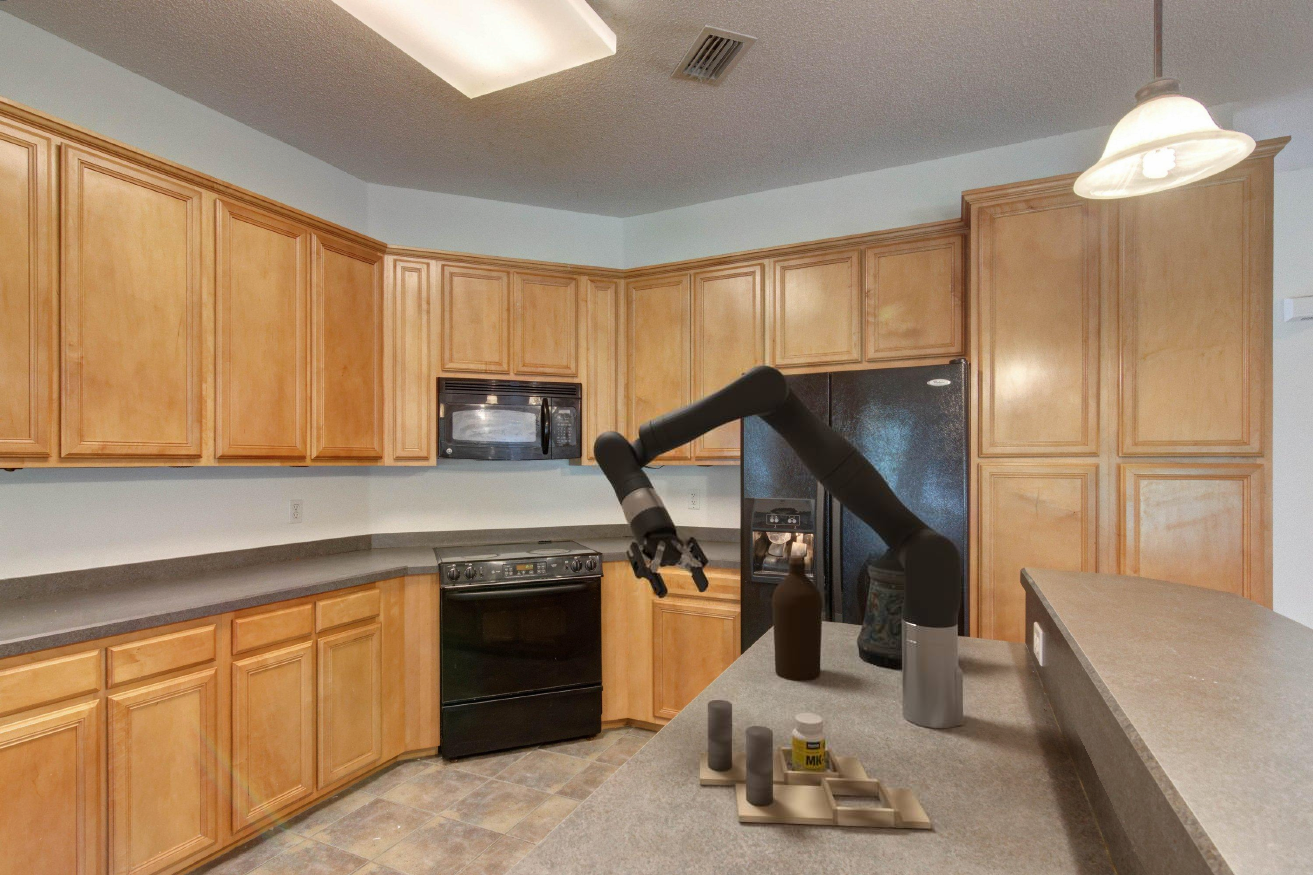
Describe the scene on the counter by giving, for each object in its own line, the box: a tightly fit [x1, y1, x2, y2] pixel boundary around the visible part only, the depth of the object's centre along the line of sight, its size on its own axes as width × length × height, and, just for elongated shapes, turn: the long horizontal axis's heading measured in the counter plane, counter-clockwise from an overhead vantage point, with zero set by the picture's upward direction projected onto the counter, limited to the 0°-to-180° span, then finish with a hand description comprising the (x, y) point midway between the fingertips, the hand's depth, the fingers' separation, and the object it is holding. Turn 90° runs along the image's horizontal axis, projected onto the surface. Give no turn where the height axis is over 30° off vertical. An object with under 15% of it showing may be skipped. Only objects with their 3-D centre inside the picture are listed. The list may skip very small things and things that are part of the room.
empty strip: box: [734, 725, 932, 829], centre depth 86 cm, size 24×8×10 cm, turn 86°
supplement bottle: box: [791, 712, 826, 772], centre depth 96 cm, size 5×5×8 cm
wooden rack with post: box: [699, 699, 869, 786], centre depth 96 cm, size 24×8×10 cm, turn 86°
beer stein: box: [856, 548, 905, 671], centre depth 150 cm, size 16×19×25 cm
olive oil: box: [771, 554, 824, 682], centre depth 139 cm, size 11×11×25 cm
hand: (684, 592), depth 110 cm, fingers open, 8 cm apart
